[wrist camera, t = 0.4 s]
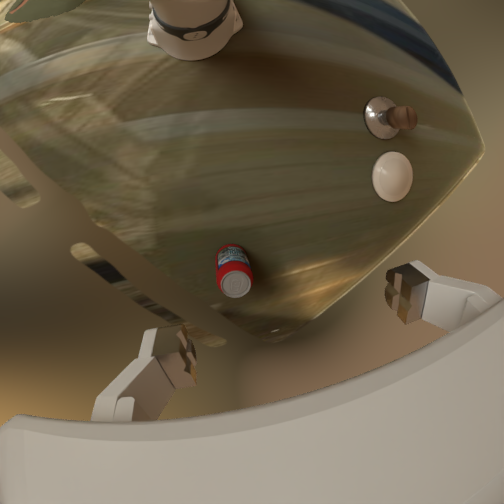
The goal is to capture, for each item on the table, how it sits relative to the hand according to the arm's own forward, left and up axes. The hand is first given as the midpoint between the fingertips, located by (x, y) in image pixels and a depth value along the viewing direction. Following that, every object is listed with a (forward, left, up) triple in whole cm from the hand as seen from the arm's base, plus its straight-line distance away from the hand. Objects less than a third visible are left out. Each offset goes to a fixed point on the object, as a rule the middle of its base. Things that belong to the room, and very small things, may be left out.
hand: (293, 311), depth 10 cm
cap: (-8, +36, -41) cm, 55 cm away
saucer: (+6, +38, -46) cm, 60 cm away
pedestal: (-8, +36, -46) cm, 59 cm away
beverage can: (+19, -2, -47) cm, 50 cm away
